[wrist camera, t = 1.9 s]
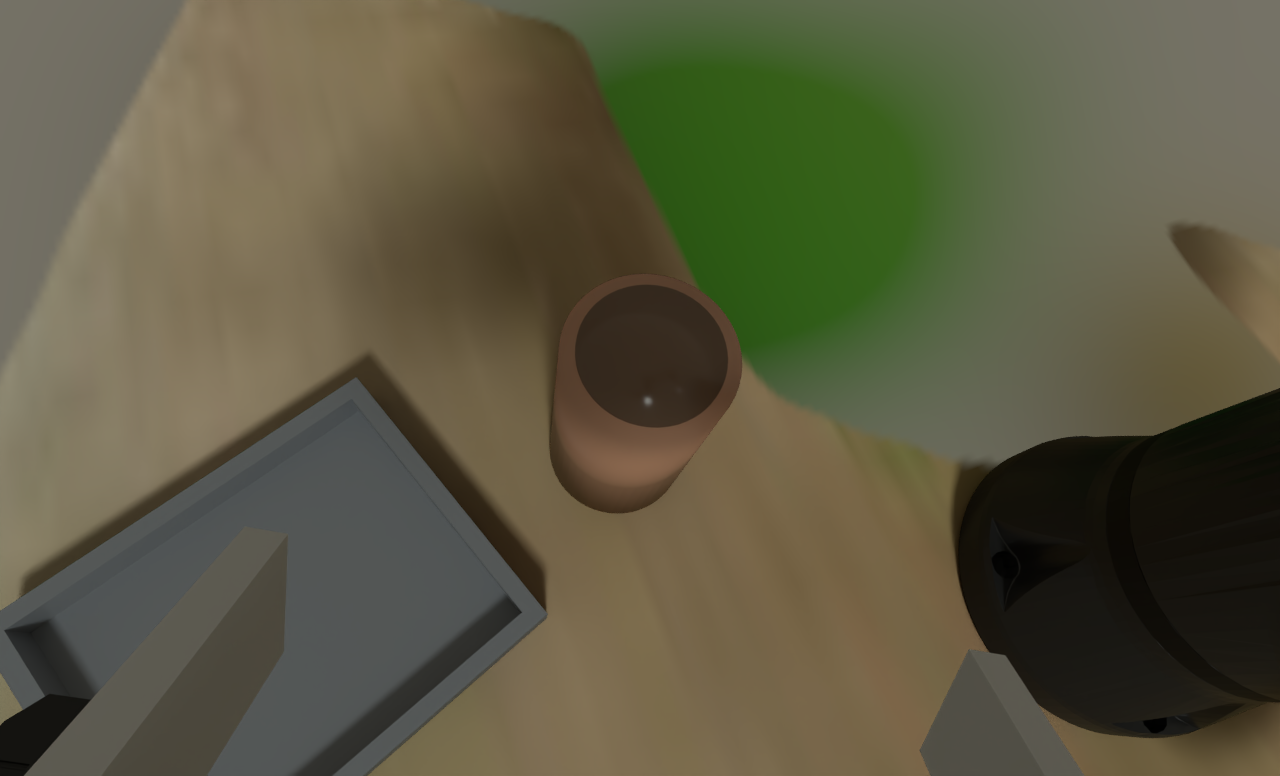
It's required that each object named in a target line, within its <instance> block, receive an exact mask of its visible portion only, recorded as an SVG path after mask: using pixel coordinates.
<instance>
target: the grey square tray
mask: <svg viewBox="0 0 1280 776" xmlns="http://www.w3.org/2000/svg"><path fill="white" fill-rule="evenodd" d="M244 527H251V528H257V529H262V530H268V531H274V532H280V533H286V534H288V553H287V579H286V606H285V633H284V652H283V654H282V655H281V657H280V658H279V660H278V662H277V663H276V665H275V666H274V668H273V670H272V671H271V673H270V675H269V676H268V678H267V679H266V681H265V683H264V684H263V686H262V687H261V689H260V691H259V692H258V694H257V696H256V697H255V699H254V700H253V702H252V704H251V705H250V707H249V708H248V710H247V712H246V713H245V715H244V716H243V718H242V720H241V721H240V723H239V725H238V726H237V728H236V729H235V731H234V733H233V734H232V736H231V737H230V739H229V741H228V742H227V744H226V746H225V747H224V749H223V750H222V752H221V754H220V755H219V757H218V758H217V760H216V762H215V763H214V765H213V766H212V768H211V770H210V771H209V773H208V775H207V776H367V775H369V774H370V773H371V772H372V771H373V770H374V769H375V768H377V767H378V766H379V765H380V764H381V763H382V762H383V761H384V760H386V759H387V758H388V757H389V756H390V755H391V754H392V753H394V752H395V751H396V750H397V749H398V748H399V747H400V746H402V745H403V744H404V743H405V742H406V741H407V740H408V739H410V738H411V737H412V736H413V735H414V734H415V733H416V732H418V731H419V730H420V729H421V728H422V727H423V726H424V725H425V724H427V723H428V722H429V721H430V720H431V719H432V718H433V717H435V716H436V715H437V714H438V713H439V712H440V711H441V710H443V709H444V708H445V707H446V706H447V705H448V704H449V703H451V702H452V701H453V700H454V699H455V698H456V697H457V696H459V695H460V694H461V693H462V692H463V691H464V690H465V689H466V688H468V687H469V686H470V685H471V684H472V683H473V682H474V681H476V680H477V679H478V678H479V677H480V676H481V675H482V674H484V673H485V672H486V671H487V670H488V669H489V668H490V667H492V666H493V665H494V664H495V663H496V662H497V661H498V660H500V659H501V658H502V657H503V656H504V655H505V654H506V653H507V652H509V651H510V650H511V649H512V648H513V647H514V646H515V645H517V644H518V643H519V642H520V641H521V640H522V639H523V638H525V637H526V636H527V635H528V634H529V633H530V632H531V631H533V630H534V629H535V628H536V627H537V626H538V625H539V624H541V623H542V622H543V621H544V620H545V619H546V618H547V615H548V614H547V613H546V611H545V610H544V609H543V608H542V606H541V605H540V604H539V603H538V602H537V600H536V599H535V598H534V597H533V595H532V594H531V593H530V592H529V590H528V589H527V588H526V587H525V585H524V584H523V583H522V582H521V580H520V579H519V578H518V577H517V575H516V574H515V573H514V572H513V571H512V569H511V568H510V567H509V566H508V564H507V563H506V562H505V561H504V559H503V558H502V557H501V556H500V554H499V553H498V552H497V551H496V549H495V548H494V547H493V546H492V544H491V543H490V542H489V541H488V540H487V538H486V537H485V536H484V535H483V533H482V532H481V531H480V530H479V528H478V527H477V526H476V525H475V523H474V522H473V521H472V520H471V518H470V517H469V516H468V515H467V513H466V512H465V511H464V510H463V509H462V507H461V506H460V505H459V504H458V502H457V501H456V500H455V499H454V497H453V496H452V495H451V494H450V492H449V491H448V490H447V489H446V487H445V486H444V485H443V484H442V482H441V481H440V480H439V479H438V478H437V476H436V475H435V474H434V473H433V471H432V470H431V469H430V468H429V466H428V465H427V464H426V463H425V461H424V460H423V459H422V458H421V456H420V455H419V454H418V453H417V452H416V450H415V449H414V448H413V447H412V445H411V444H410V443H409V442H408V440H407V439H406V438H405V437H404V435H403V434H402V433H401V432H400V430H399V429H398V428H397V427H396V425H395V424H394V423H393V422H392V421H391V419H390V418H389V417H388V416H387V414H386V413H385V412H384V411H383V409H382V408H381V407H380V406H379V404H378V403H377V402H376V401H375V399H374V398H373V397H372V396H371V394H370V393H369V392H368V391H367V390H366V388H365V387H364V386H363V385H362V383H361V382H360V381H359V380H358V378H357V377H356V378H354V379H353V380H351V381H350V382H348V383H347V384H345V385H344V386H342V387H340V388H339V389H337V390H336V391H334V392H333V393H331V394H330V395H328V396H327V397H325V398H324V399H322V400H321V401H319V402H318V403H316V404H315V405H313V406H312V407H310V408H308V409H307V410H305V411H304V412H302V413H301V414H299V415H298V416H296V417H295V418H293V419H292V420H290V421H289V422H287V423H286V424H284V425H283V426H281V427H280V428H278V429H277V430H275V431H273V432H272V433H270V434H269V435H267V436H266V437H264V438H263V439H261V440H260V441H258V442H257V443H255V444H254V445H252V446H251V447H249V448H248V449H246V450H245V451H243V452H241V453H240V454H238V455H237V456H235V457H234V458H232V459H231V460H229V461H228V462H226V463H225V464H223V465H222V466H220V467H219V468H217V469H216V470H214V471H213V472H211V473H209V474H208V475H206V476H205V477H203V478H202V479H200V480H199V481H197V482H196V483H194V484H193V485H191V486H190V487H188V488H187V489H185V490H184V491H182V492H181V493H179V494H177V495H176V496H174V497H173V498H171V499H170V500H168V501H167V502H165V503H164V504H162V505H161V506H159V507H158V508H156V509H155V510H153V511H152V512H150V513H149V514H147V515H146V516H144V517H142V518H141V519H139V520H138V521H136V522H135V523H133V524H132V525H130V526H129V527H127V528H126V529H124V530H123V531H121V532H120V533H118V534H117V535H115V536H114V537H112V538H110V539H109V540H107V541H106V542H104V543H103V544H101V545H100V546H98V547H97V548H95V549H94V550H92V551H91V552H89V553H88V554H86V555H85V556H83V557H82V558H80V559H78V560H77V561H75V562H74V563H72V564H71V565H69V566H68V567H66V568H65V569H63V570H62V571H60V572H59V573H57V574H56V575H54V576H53V577H51V578H50V579H48V580H46V581H45V582H43V583H42V584H40V585H39V586H37V587H36V588H34V589H33V590H31V591H30V592H28V593H27V594H25V595H24V596H22V597H21V598H19V599H18V600H16V601H15V602H13V603H11V604H10V605H8V606H7V607H5V608H4V609H2V610H1V611H0V673H1V674H2V676H3V678H4V679H5V681H6V682H7V684H8V686H9V687H10V689H11V691H12V692H13V694H14V695H15V697H16V699H17V700H18V702H19V704H20V705H21V707H22V708H23V710H24V709H25V708H27V707H28V706H30V705H32V704H33V703H35V702H37V701H38V700H40V699H42V698H43V697H45V696H47V695H48V694H56V695H62V696H69V697H76V698H83V699H90V700H92V698H93V697H94V696H95V695H96V694H97V693H98V692H99V690H100V689H101V688H102V687H103V686H104V685H105V684H106V683H107V681H108V680H109V679H110V678H111V677H112V676H113V675H114V674H115V672H116V671H117V670H118V669H119V668H120V667H121V666H122V665H123V663H124V662H125V661H126V660H127V659H128V658H129V657H130V656H131V654H132V653H133V652H134V651H135V650H136V649H137V648H138V646H139V645H140V644H141V643H142V642H143V641H144V640H145V639H146V637H147V636H148V635H149V634H150V633H151V632H152V631H153V630H154V628H155V627H156V626H157V625H158V624H159V623H160V622H161V621H162V619H163V618H164V617H165V616H166V615H167V614H168V613H169V611H170V610H171V609H172V608H173V607H174V606H175V605H176V604H177V602H178V601H179V600H180V599H181V598H182V597H183V596H184V595H185V593H186V592H187V591H188V590H189V589H190V588H191V587H192V586H193V584H194V583H195V582H196V581H197V580H198V579H199V578H200V577H201V575H202V574H203V573H204V572H205V571H206V570H207V569H208V567H209V566H210V565H211V564H212V563H213V562H214V561H215V560H216V558H217V557H218V556H219V555H220V554H221V553H222V552H223V551H224V549H225V548H226V547H227V546H228V545H229V544H230V543H231V542H232V540H233V539H234V538H235V537H236V536H237V535H238V534H239V532H240V531H241V530H242V529H243V528H244Z"/></svg>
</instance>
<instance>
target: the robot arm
mask: <svg viewBox="0 0 1280 776" xmlns="http://www.w3.org/2000/svg"><path fill="white" fill-rule="evenodd" d="M287 553H288V534H286V533H280V532H274V531H268V530H262V529H257V528H251V527H244V528H243V529H242V530H241V531H240V532H239V534H238V535H237V536H236V537H235V538H234V539H233V540H232V542H231V543H230V544H229V545H228V546H227V547H226V548H225V549H224V551H223V552H222V553H221V554H220V555H219V556H218V557H217V558H216V560H215V561H214V562H213V563H212V564H211V565H210V566H209V567H208V569H207V570H206V571H205V572H204V573H203V574H202V575H201V577H200V578H199V579H198V580H197V581H196V582H195V583H194V584H193V586H192V587H191V588H190V589H189V590H188V591H187V592H186V593H185V595H184V596H183V597H182V598H181V599H180V600H179V601H178V602H177V604H176V605H175V606H174V607H173V608H172V609H171V610H170V611H169V613H168V614H167V615H166V616H165V617H164V618H163V619H162V621H161V622H160V623H159V624H158V625H157V626H156V627H155V628H154V630H153V631H152V632H151V633H150V634H149V635H148V636H147V637H146V639H145V640H144V641H143V642H142V643H141V644H140V645H139V646H138V648H137V649H136V650H135V651H134V652H133V653H132V654H131V656H130V657H129V658H128V659H127V660H126V661H125V662H124V663H123V665H122V666H121V667H120V668H119V669H118V670H117V671H116V672H115V674H114V675H113V676H112V677H111V678H110V679H109V680H108V681H107V683H106V684H105V685H104V686H103V687H102V688H101V689H100V690H99V692H98V693H97V694H96V695H95V696H94V697H93V698H92V700H90V699H83V698H76V697H69V696H62V695H56V694H48V695H47V696H45V697H43V698H42V699H40V700H38V701H37V702H35V703H33V704H32V705H30V706H28V707H27V708H25V709H24V710H22V711H20V712H19V713H17V714H15V715H14V716H12V717H10V718H9V719H7V720H6V721H4V722H3V723H2V724H1V725H0V776H207V775H208V773H209V771H210V770H211V768H212V766H213V765H214V763H215V762H216V760H217V758H218V757H219V755H220V754H221V752H222V750H223V749H224V747H225V746H226V744H227V742H228V741H229V739H230V737H231V736H232V734H233V733H234V731H235V729H236V728H237V726H238V725H239V723H240V721H241V720H242V718H243V716H244V715H245V713H246V712H247V710H248V708H249V707H250V705H251V704H252V702H253V700H254V699H255V697H256V696H257V694H258V692H259V691H260V689H261V687H262V686H263V684H264V683H265V681H266V679H267V678H268V676H269V675H270V673H271V671H272V670H273V668H274V666H275V665H276V663H277V662H278V660H279V658H280V657H281V655H282V654H283V652H284V633H285V606H286V579H287ZM959 566H960V576H961V581H962V587H963V591H964V595H965V599H966V602H967V605H968V609H969V611H970V614H971V616H972V619H973V621H974V624H975V626H976V628H977V630H978V632H979V634H980V636H981V638H982V640H983V642H984V643H985V645H986V647H987V648H988V650H989V652H990V653H988V652H982V651H976V650H970V649H969V650H968V652H967V654H966V656H965V658H964V661H963V663H962V665H961V667H960V669H959V671H958V673H957V675H956V677H955V679H954V681H953V683H952V685H951V687H950V689H949V691H948V693H947V695H946V698H945V700H944V702H943V704H942V706H941V708H940V710H939V712H938V714H937V716H936V718H935V720H934V722H933V724H932V726H931V728H930V730H929V732H928V734H927V737H926V739H925V741H924V743H923V745H922V747H921V749H920V752H921V754H922V757H923V759H924V761H925V764H926V766H927V768H928V771H929V773H930V775H931V776H1084V774H1083V773H1082V771H1081V770H1080V768H1079V767H1078V765H1077V764H1076V762H1075V761H1074V759H1073V758H1072V756H1071V755H1070V753H1069V752H1068V750H1067V748H1066V747H1065V745H1064V744H1063V742H1062V741H1061V739H1060V738H1059V736H1058V735H1057V733H1056V732H1055V730H1054V729H1053V727H1052V726H1051V724H1050V723H1049V721H1048V720H1047V718H1046V716H1045V715H1044V713H1043V712H1042V710H1041V709H1040V707H1039V706H1038V704H1039V705H1040V706H1041V707H1043V708H1044V709H1046V710H1047V711H1049V712H1050V713H1052V714H1054V715H1055V716H1057V717H1059V718H1061V719H1063V720H1065V721H1067V722H1069V723H1071V724H1073V725H1076V726H1078V727H1081V728H1084V729H1087V730H1090V731H1094V732H1098V733H1102V734H1109V735H1118V736H1129V737H1140V738H1165V737H1173V736H1179V735H1183V734H1188V733H1191V732H1193V731H1196V730H1199V729H1202V728H1204V727H1207V726H1209V725H1212V724H1214V723H1217V722H1219V721H1222V720H1224V719H1227V718H1229V717H1232V716H1234V715H1237V714H1239V713H1242V712H1244V711H1247V710H1249V709H1252V708H1254V707H1257V706H1259V705H1262V704H1264V703H1267V702H1280V388H1279V389H1276V390H1273V391H1271V392H1268V393H1265V394H1263V395H1260V396H1257V397H1255V398H1252V399H1249V400H1247V401H1244V402H1241V403H1239V404H1236V405H1233V406H1230V407H1228V408H1225V409H1223V410H1220V411H1217V412H1215V413H1212V414H1210V415H1206V416H1204V417H1201V418H1199V419H1196V420H1193V421H1191V422H1188V423H1185V424H1182V425H1180V426H1178V427H1176V428H1173V429H1170V430H1168V431H1165V432H1163V433H1160V434H1157V435H1154V436H1107V437H1089V436H1079V437H1077V436H1076V437H1066V438H1061V439H1056V440H1052V441H1048V442H1045V443H1042V444H1039V445H1037V446H1035V447H1032V448H1030V449H1028V450H1026V451H1023V452H1021V453H1019V454H1017V455H1015V456H1013V457H1011V458H1009V459H1007V460H1005V461H1004V462H1002V463H1001V464H999V465H998V466H997V467H996V468H994V469H993V470H992V471H991V472H990V473H989V474H988V475H987V476H986V477H985V478H984V479H983V481H982V482H981V483H980V485H979V486H978V487H977V489H976V490H975V492H974V494H973V496H972V498H971V500H970V502H969V504H968V506H967V509H966V512H965V515H964V519H963V522H962V527H961V532H960V541H959Z"/></svg>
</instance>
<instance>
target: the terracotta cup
mask: <svg viewBox="0 0 1280 776" xmlns="http://www.w3.org/2000/svg"><path fill="white" fill-rule="evenodd" d="M741 373H742V356H741V350H740V345H739V341H738V338H737V335H736V333H735V331H734V329H733V327H732V325H731V323H730V321H729V320H728V318H727V317H726V315H725V314H724V312H723V311H722V310H721V309H720V308H719V306H718V305H717V304H716V303H715V302H713V301H712V300H711V299H710V298H709V297H708V296H707V295H705V294H704V293H702V292H701V291H700V290H698V289H696V288H695V287H693V286H691V285H689V284H687V283H685V282H682V281H680V280H677V279H674V278H671V277H667V276H662V275H656V274H632V275H626V276H621V277H618V278H615V279H611V280H609V281H607V282H605V283H602V284H600V285H599V286H597V287H595V288H594V289H592V290H591V291H590V292H588V293H587V294H586V295H585V296H583V297H582V298H581V300H580V301H579V302H578V303H577V304H576V305H575V306H574V308H573V309H572V311H571V312H570V314H569V315H568V317H567V319H566V321H565V323H564V326H563V329H562V332H561V337H560V342H559V351H558V361H557V372H556V382H555V393H554V403H553V414H552V424H551V435H550V459H551V463H552V467H553V469H554V472H555V475H556V476H557V478H558V480H559V482H560V483H561V485H562V486H563V487H564V489H565V490H566V491H567V492H568V493H569V494H570V495H571V496H572V497H574V498H575V499H576V500H577V501H579V502H580V503H582V504H584V505H585V506H588V507H590V508H592V509H595V510H598V511H602V512H607V513H628V512H633V511H637V510H640V509H642V508H645V507H647V506H649V505H651V504H652V503H654V502H655V501H657V500H658V499H659V498H660V497H661V496H662V495H663V494H664V493H666V491H667V490H668V489H669V487H670V486H671V485H672V483H673V482H674V481H675V479H676V478H677V477H678V475H679V474H680V473H681V471H682V470H683V469H684V467H685V466H686V465H687V463H688V462H689V461H690V459H691V458H692V457H693V455H694V454H695V452H696V451H697V450H698V448H699V447H700V446H701V444H702V443H703V442H704V440H705V439H706V438H707V436H708V435H709V434H710V432H711V431H712V430H713V428H714V427H715V425H716V424H717V423H718V421H719V420H720V419H721V417H722V416H723V415H724V413H725V412H726V411H727V409H728V408H729V407H730V405H731V403H732V401H733V399H734V398H735V396H736V393H737V390H738V388H739V384H740V379H741Z"/></svg>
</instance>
